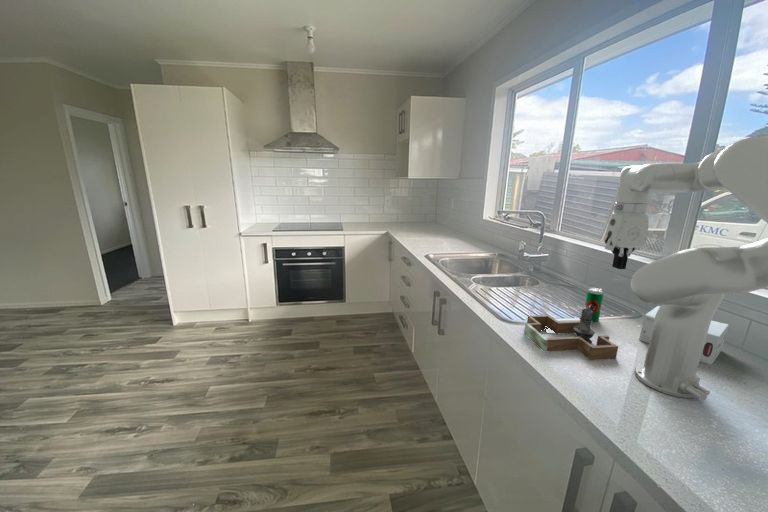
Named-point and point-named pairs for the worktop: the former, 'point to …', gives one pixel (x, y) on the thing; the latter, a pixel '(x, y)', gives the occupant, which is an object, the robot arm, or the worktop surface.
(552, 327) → the wooden zigzag wall frame
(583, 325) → the stone chess piece
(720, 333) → the supplement box
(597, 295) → the soda can
